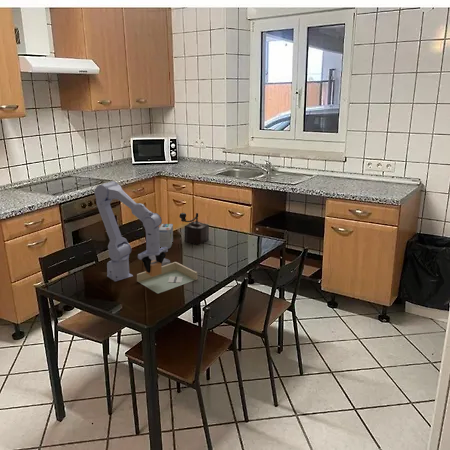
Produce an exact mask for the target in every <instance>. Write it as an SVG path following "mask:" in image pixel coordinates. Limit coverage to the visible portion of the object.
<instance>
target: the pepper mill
mask: <svg viewBox="0 0 450 450" xmlns="http://www.w3.org/2000/svg"><path fill="white" fill-rule="evenodd" d="M186 217H187V214H186V213H185V212H181V213H180V214H179V218H180V219H181V220H180V222H184V223H188V224H186V225H184V239H183V240H184V242H186V243H189V244H193V245H196V246H197V245H198V246H200V245H202V244H204V243H206V242H208V241H209V239H210V238H209V231H210V230H209V229H210V224H209V223H208V224H207V223H202V222H200V221H199V218H198V217H199V213H197V212H196V213H195V217H194V218H192V219H190V220H187V218H186Z"/></svg>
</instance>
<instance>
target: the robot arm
mask: <svg viewBox="0 0 450 450" xmlns="http://www.w3.org/2000/svg"><path fill="white" fill-rule="evenodd" d="M93 194H94V195H95V203H96V207H97V209H98V212H99V215H100V217H101V220H102V222H103V225H104V228H105V231H106V234H107V236H108V239H109V242H108V245H107V249H108V257H109V259H110V260H109V261H108V262H107V263H106V268H107V269H106V274H107V275H106V277H107V278H109V279H110V280H112V281H113V282H118V281H122V280H124V279H128V278H131V277H134V275H133V274H132V273H130V261H129V260H130V259H129V258H130V254H131V253H132V250H133V249H132V246H131V244H130V243H129V241H128V240H127V238H125V237H123V236H122V233H121V231H120V228H119V225H118V223H117V219H116V216H115V213H114V211H113V209H112V206H111V203H112V201H113V200H118V201H119V202H121V203H122V204H124V205H125V206H126V207H128V208H129V209H130V210H131V214H132V215H133V216H135V218H137V219H138V220H139V221H141V222H142V225H143V228H144V229H145V230H144V231H145V244H146V245H145V247H146V250H144V251H142V252H140V253H138V254H137V259H138V260H140V261H142V263H143V265H144V268H145V271H146V272H148V273H150V265H151V259H150V258H149V256H153V255H155V256H156V261H158V262H160V263H162V262H163V260H164V258H165V259H166V257H167V256H166V253H168V252H169V248H167V247H161V248H160V240H159V228H160V226H161V224H162V217H161V215H159V213H157V212H153V211H151V210H149V209H148V207H146V206H145V204H143V203H141V202H139V203H138V202H136V201H135V200H134V199H133V198H131V197H130V196H129V194H127V193H126V192H125V190H124V189H123V188H122V186H121V185H120V184H119V183H117V182H116V181H114V180H111V181H109V182H105V183H102V184H98V185H97V186H96V187H95V189H94V191H93Z"/></svg>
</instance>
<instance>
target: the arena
mask: <svg viewBox="0 0 450 450" xmlns="http://www.w3.org/2000/svg"><path fill="white" fill-rule="evenodd" d="M197 280H198V271H195V270H193V269H191V268H189V267H188V266H185V265H184V264H181V263H179V262H178V261H174V262H170V264H167V265H164V266H162V274H159V275H156V276H153V277H152V276H150V275H148V274H147V273H146V270H145V271H142V272H139V273H136V282H138V283H140V284H141V285H143V286H144V287H146V288H147V289H149V290H151V291H152V292H154V293H155V294H161V293H164V292H167V291H169V290H171V289H175V288H177V287H181V286H182V285H186V284H189V283H191V282H194V281H197Z"/></svg>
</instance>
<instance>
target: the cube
mask: <svg viewBox="0 0 450 450" xmlns="http://www.w3.org/2000/svg"><path fill="white" fill-rule="evenodd" d="M146 273H147V274H148V275H150V276H152V277H153V276H156V275H159V274H162V263H160V262H158V261H156V260H153V261H151V265H150V273H148V272H146Z"/></svg>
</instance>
